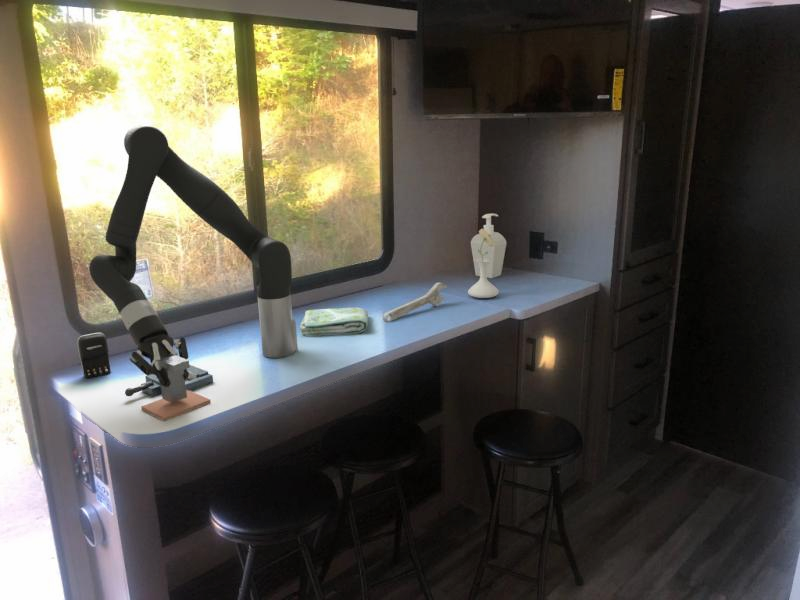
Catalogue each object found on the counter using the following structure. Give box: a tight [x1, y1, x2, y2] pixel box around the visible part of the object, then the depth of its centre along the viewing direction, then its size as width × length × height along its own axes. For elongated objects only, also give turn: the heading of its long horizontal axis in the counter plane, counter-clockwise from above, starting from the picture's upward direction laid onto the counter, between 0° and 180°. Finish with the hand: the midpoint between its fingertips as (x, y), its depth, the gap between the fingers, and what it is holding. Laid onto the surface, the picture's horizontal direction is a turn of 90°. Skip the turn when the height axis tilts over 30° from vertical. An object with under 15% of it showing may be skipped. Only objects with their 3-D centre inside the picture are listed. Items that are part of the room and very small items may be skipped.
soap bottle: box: [470, 213, 507, 279], centre depth 263 cm, size 12×10×26 cm
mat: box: [140, 390, 211, 422], centre depth 148 cm, size 12×10×1 cm
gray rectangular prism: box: [159, 354, 190, 403], centre depth 146 cm, size 4×7×10 cm, turn 50°
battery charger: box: [76, 332, 112, 379], centre depth 168 cm, size 7×4×11 cm, turn 124°
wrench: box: [382, 282, 448, 323], centre depth 216 cm, size 8×2×30 cm
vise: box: [124, 364, 214, 397], centre depth 158 cm, size 20×13×3 cm, turn 140°
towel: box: [299, 306, 369, 337], centre depth 204 cm, size 18×21×5 cm
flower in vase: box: [467, 228, 499, 299], centre depth 231 cm, size 13×11×25 cm
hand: (177, 382), depth 146 cm, fingers closed on gray rectangular prism, 4 cm apart
